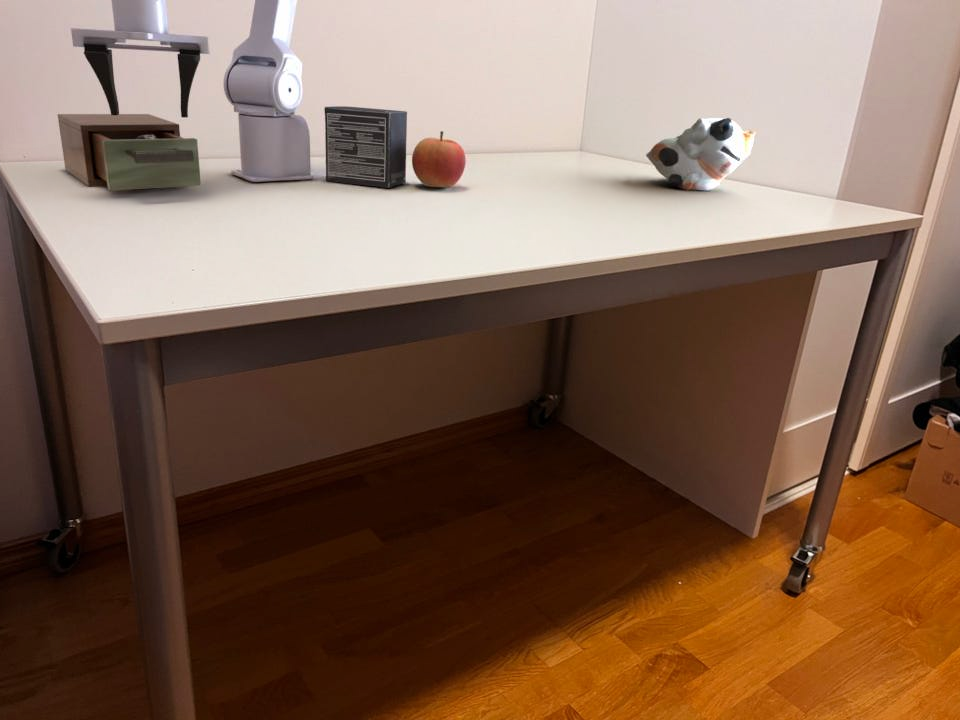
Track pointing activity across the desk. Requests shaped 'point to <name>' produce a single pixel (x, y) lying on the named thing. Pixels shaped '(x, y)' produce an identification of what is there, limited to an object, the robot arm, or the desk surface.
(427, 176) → the apple
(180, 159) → the drawer
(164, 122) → the cabinet
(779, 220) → the desk surface
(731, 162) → the lucky cat figurine
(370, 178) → the small box
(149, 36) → the robot arm
